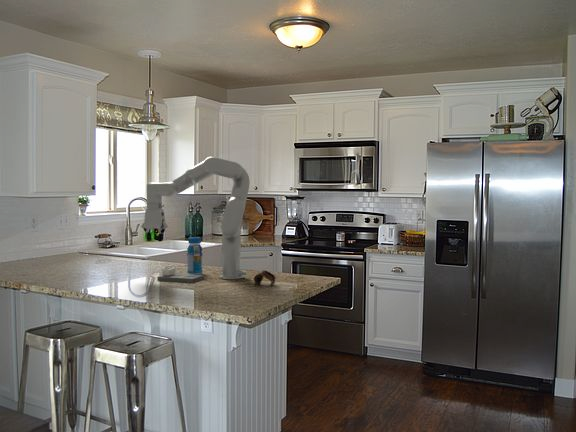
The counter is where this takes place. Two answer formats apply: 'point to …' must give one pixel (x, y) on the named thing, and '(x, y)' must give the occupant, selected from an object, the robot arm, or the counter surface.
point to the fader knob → (168, 271)
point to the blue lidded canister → (194, 256)
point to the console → (181, 278)
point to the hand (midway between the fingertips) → (154, 240)
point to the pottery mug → (267, 275)
